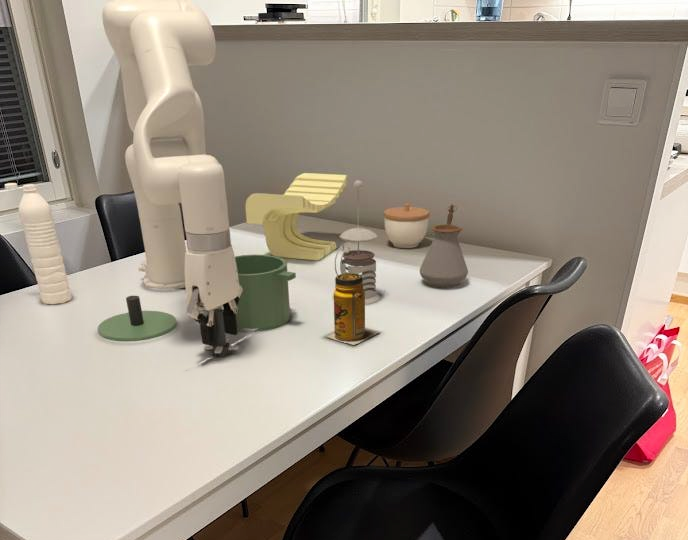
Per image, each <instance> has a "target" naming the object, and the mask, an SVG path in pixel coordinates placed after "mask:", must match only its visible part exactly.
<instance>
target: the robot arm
mask: <svg viewBox="0 0 688 540" xmlns="http://www.w3.org/2000/svg"><path fill="white" fill-rule="evenodd" d="M101 12H102V14H101V18H102V25H103V28H104V32H105V35H106V38H107V40H108V42H109V44H110V46H111V48H112V50H113V52H114V54H115V56H116V59H117V60H118V65H119V69H120V75H121V81H122V90H123V97H124V98H123V99H124V104H125V113H126V118H127V123H128V126H129V129H130V131H131V132H132V133H133V136H132V137H133V138H132V143H131V144H130V145H129V146H128V147H127V148H126V150H125V154H124V160H125V167H126V169H127V173H128V176H129V180H130V182H131V185H132V189H133V192H134V197H135V202H136V207H137V213H138V218H139V222H140V223H139V224H140V231H141V235H142V241H143V248H144V252H145V253H144V254H145V259H146V260H142V261H141V262H140V264H139V265H138V267H137V270H138V271H139V272H145V277H144V278H143V280H142V282H143V285H144V286H145V287H148V288H151V289H157V290H158V289H159V290H167V289H168V290H170V289H175V290H179V289H184V288H185V295H186V303H187V308H186V311H185V312H186V315H187V316H189V317H191V318H192V319H193V320H194V321H195V322H196V324H197V325H199V328H200V329H199V330H200V337H201V343H202V344H203V345H210V346H217V345H218V341H217V333H216V326H215V325H213V315H214V309H217V308H219V306H221V308H222V310H223V311H224V312H223V319H224V327H225V334H228V335H233V336H237V335H238V333H239V330H238V328H237V320H236V313H237V311H238V309H237V305H238V302H239V298H240V296H241V293H242V291H243V288H242V287H241V285H240V284H239V279H238V271H237V265H236V260H235V256H236V255H235V251H234V248H233V245H232V241H231V239H232V238H231V231H230V220H229V211H228V199H227V191H226V181H225V172H224V168H223V166H222V164H221V163H220V162H219V160H218V159H217V158H216V157H214V156H212V155H210V154H206V153H207V152H206V151H207V150H206V133H205V131H206V130H205V118H204V116H205V115H204V108H203V105H202V101H201V98H200V96H199V94H198V92H197V91H196V89H195V88H194V85H193V80H192V77H191V73H190V69H189V67H190V66H192V67H193V66H209V65H210V64H211V63H213V61H214V60H215V57H216V51H217V45H216V37H215V32H214V29H213V25H212V24H211V21H210V19H209V18H208V16H207V14H206V13H205V12H204V11H203V10H202V9H201V8H200V7H199V6H197V5H196V4H195V3H193V2H192V1H190V0H110V1H108V2H107V3H105V4H104V6H103V8H102V11H101ZM170 137H171V138H170ZM172 137H182V138H172ZM154 138H160V139H154ZM161 138H168V139H161ZM169 138H170V139H169ZM180 204H181V205H180ZM180 206H181V207H180ZM181 210H182V211H181ZM182 217H183V218H182ZM183 224H184V226H183ZM185 239H186V240H185ZM186 247H187V248H186ZM205 312H206V315H205Z"/></svg>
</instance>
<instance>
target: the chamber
mask: <svg viewBox="0 0 688 540" xmlns="http://www.w3.org/2000/svg"><path fill="white" fill-rule="evenodd" d="M234 256H235V260H236V265H237V271H238V279H239V284H240V285H241V287H242V288H243V291H242V293H241V296H240V298H239V302H238V305H237V309H238V311H237V313H236V320H237V329H243V330H244V329H245V330H254V332H260V331H268V330H271V329H272V330H273V329H277V328H279V327H281V326H283V325H285V324H287V323H288V322H289V321H290V318H291V316H290V315H291V309H290V292H289V290H290V289H289V282H290V281H292V280H294V279H296V278H297V276H296V275H297V274H296V272H292V271H288V262H287V261H286V260H285V259H284V258H283V257H277V256H274V255H269V254H241V255H234ZM218 308H219V309H222V308H221V306H219V307H218ZM223 312H224V311H223ZM255 329H256V330H255Z"/></svg>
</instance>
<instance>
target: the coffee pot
mask: <svg viewBox="0 0 688 540" xmlns="http://www.w3.org/2000/svg"><path fill="white" fill-rule="evenodd" d="M454 209H455V210H454ZM447 210H448V214H447V220H446V224H436V225H434V226H433V227H432V231H433V232H434V238H433V240H432V242H431V244H430V246H429V249H428V250H427V252H426V255H425V257H424V259H423V261H422V264H421V265H420V268H419V273H420V275H419V276H420V277H421V278H422V279H423V280H424V281H425V282H426V284H427V285H429V286H431V287H434V288H441V289H442V288H443V289H445V288H446V289H447V288H454V287H457V286H459V285H460V283H461V282H463V281H464V280H465V279H466V278H467V276H468V275H469V270H468V267H467V263H466V261H465V257H464V253H463V251H462V249H461V248H462V247H461V245H460V242H459V238H458V236H459V234H460V233H461V231H463V228H462V227H460V226H458V225H455V224H452V222H453V218H454V214H453V213H455V212H456V211H458V207H457V206H455V205H454V204H451V205H448V207H447Z"/></svg>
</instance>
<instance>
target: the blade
mask: <svg viewBox="0 0 688 540" xmlns="http://www.w3.org/2000/svg"><path fill="white" fill-rule="evenodd" d="M213 325H215V326H216V333H217V341H218V345H217V346H210V345H206V344H204V346H203V350H212V352H213V355H214V356H216V357H226V356H229V355H230V354H231V351H233V350H234V351H238V349H239V347H240V346H239V345H231V344H230V343H229V342H228V337H226V333H225V327H224V319H223V310H222V309H219V307H217V308H215V309H214V315H213Z"/></svg>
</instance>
